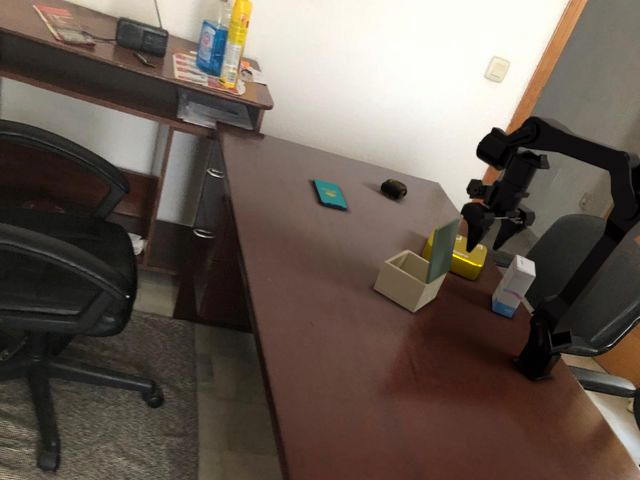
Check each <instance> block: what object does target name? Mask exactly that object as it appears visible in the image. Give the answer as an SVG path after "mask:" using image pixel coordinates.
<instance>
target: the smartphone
mask: <svg viewBox="0 0 640 480" xmlns="http://www.w3.org/2000/svg"><path fill="white" fill-rule="evenodd" d="M312 183H313V185H314V188H315V191H316V194H317V196H318V199H319V202H320V204H321V205H323V206H324V207H325V206H327V207H330V208H333V209H337V210H342V211H347V210H348V205H347V203H346V201H345V198H344V195H343V194H342V191H341V189H340V187H339V185H338V184H336V183H332V182H328V181H325V180H321V179H317V178H314V179H313V181H312Z"/></svg>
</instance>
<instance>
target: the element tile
mask: <svg viewBox="0 0 640 480" xmlns="http://www.w3.org/2000/svg"><path fill="white" fill-rule="evenodd" d="M440 226H441V225H437V226H434V227H433V229H432V232H431V233H430V235H429V237H428V239H427V241H426V243H425V245H424V248H423V250H422V252H421V257H422V258H423V259H425V260H427V261H428V262H429V260H430V254H431V248H432V243H433V237H434V232H435V229H436V228H438V227H440ZM466 244H467V236H466V237H465V236H463V235H461V234H458V233H457V236H456V241H455V246H454V251H453V256H452V261H451V266H450V271H449V272H450V273H453V274H454V275H455V274H456V275H458V276H460V277H462V278H464V279H466V280H469V281H475V280H477V278H478V277H479V274H480V273H481V271H482V268H483V266H484V263H485V260H486V256H487V253H488V249H487V246H485V245H483V244H482V243H479V244H478V245H477V246H476V247H475V248H474V250H473V251H472V252H471V253H468V252H467V251H466Z"/></svg>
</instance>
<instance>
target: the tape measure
mask: <svg viewBox="0 0 640 480" xmlns="http://www.w3.org/2000/svg"><path fill="white" fill-rule="evenodd" d="M380 191H381V192H383V193H384V194H386V195H387V196H388V197H390V198H393V199H394V200H396V201H400V200H403V199H404V198H405V197H406V196H407V195H408V186H407V185H406V184H405V183H404V182H402V181H399V180H397V179H394V178H392V179H391V178H389V179H386V180H385V181H383V182H382V183H381V184H380Z"/></svg>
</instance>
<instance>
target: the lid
mask: <svg viewBox="0 0 640 480" xmlns="http://www.w3.org/2000/svg"><path fill="white" fill-rule="evenodd" d="M460 220H461V219H460V218H457V217H456V218H454V219H452V220H450V221H448V222H446V223H444V224H442V225H439V226H440V227H438V228H436V229H435V232H434V237H433V243H432V248H431V254H430V260H429V265H428V271H427V276H426V282H425V284H430V283H431V282H433V281H435V280H436V279H438V278H439V277H441V276H442V275H444V274H445V273H446V274H447V273H448V272H451V271H450V266H451V261H452V256H453V251H454V246H455V241H456V236H457V234H458V230H459V224H460Z"/></svg>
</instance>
